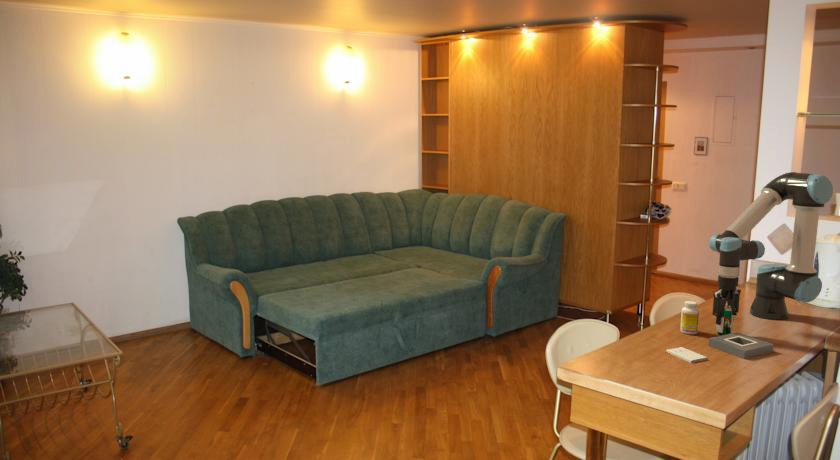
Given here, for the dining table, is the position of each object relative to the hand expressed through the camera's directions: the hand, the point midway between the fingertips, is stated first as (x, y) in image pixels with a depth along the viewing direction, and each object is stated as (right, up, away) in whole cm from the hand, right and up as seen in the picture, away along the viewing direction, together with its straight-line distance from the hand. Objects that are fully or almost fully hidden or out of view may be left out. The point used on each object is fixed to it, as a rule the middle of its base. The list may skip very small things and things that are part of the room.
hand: (724, 330), depth 269 cm
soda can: (0, -2, 0) cm, 2 cm away
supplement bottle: (-13, -1, +4) cm, 14 cm away
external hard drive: (-25, -7, -22) cm, 34 cm away
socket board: (-1, -5, -16) cm, 16 cm away
